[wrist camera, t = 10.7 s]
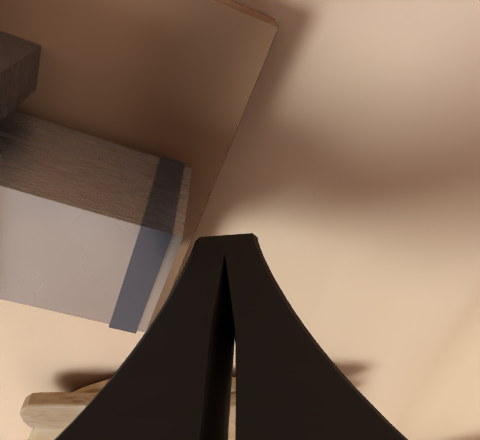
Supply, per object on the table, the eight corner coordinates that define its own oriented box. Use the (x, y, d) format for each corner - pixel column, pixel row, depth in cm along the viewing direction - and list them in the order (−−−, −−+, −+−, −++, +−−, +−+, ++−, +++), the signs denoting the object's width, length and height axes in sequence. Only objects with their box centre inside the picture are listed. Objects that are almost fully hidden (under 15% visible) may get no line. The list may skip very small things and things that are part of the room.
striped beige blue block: (193, 165, 10) (183, 238, 8) (160, 253, 12) (144, 335, 10) (-133, 58, 9) (-265, 108, 6) (-122, 175, 10) (-226, 250, 8)
